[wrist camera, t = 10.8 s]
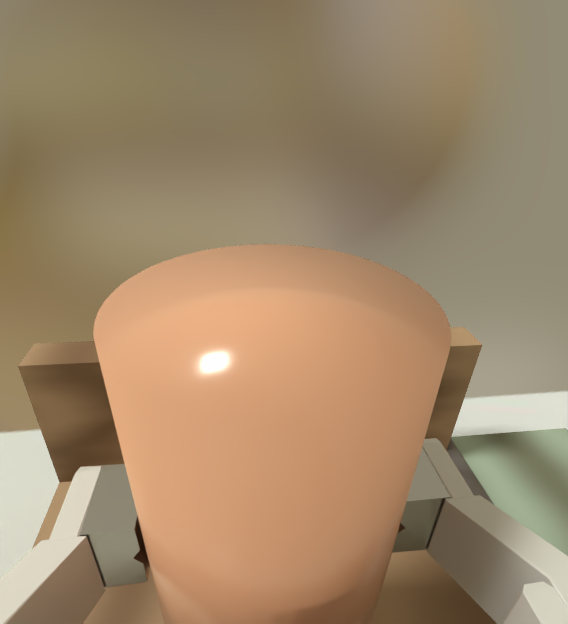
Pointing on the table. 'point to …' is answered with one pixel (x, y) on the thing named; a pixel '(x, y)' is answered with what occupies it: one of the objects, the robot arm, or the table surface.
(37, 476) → the table surface
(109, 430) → the brown wooden l-shaped board
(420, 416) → the peach cylinder
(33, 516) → the table surface
